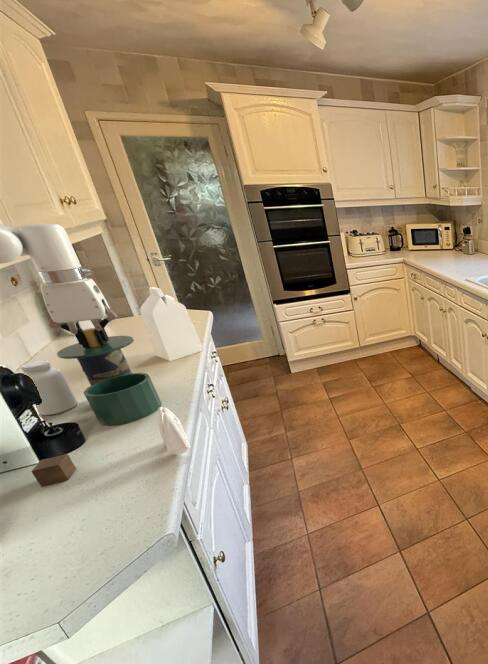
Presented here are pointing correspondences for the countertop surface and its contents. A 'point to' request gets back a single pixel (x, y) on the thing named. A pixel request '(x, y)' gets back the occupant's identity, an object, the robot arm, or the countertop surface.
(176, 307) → the milk
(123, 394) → the tea tin
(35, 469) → the block
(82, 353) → the tin lid
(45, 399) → the pill bottle
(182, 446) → the white piece
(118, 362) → the canister
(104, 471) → the countertop surface
